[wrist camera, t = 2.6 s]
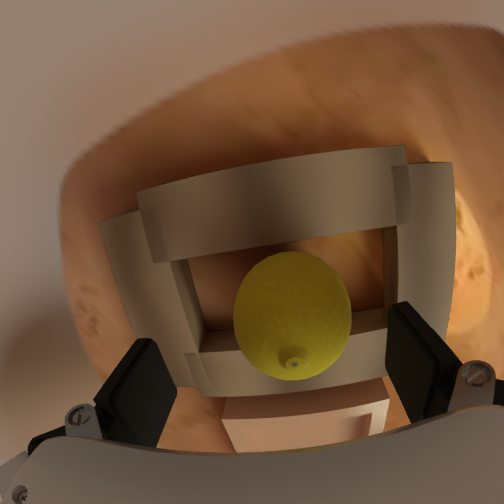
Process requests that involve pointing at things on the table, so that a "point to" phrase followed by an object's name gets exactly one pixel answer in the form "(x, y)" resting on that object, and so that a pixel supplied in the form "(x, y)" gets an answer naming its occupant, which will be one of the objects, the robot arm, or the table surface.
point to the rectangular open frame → (275, 232)
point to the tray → (306, 417)
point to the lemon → (292, 316)
